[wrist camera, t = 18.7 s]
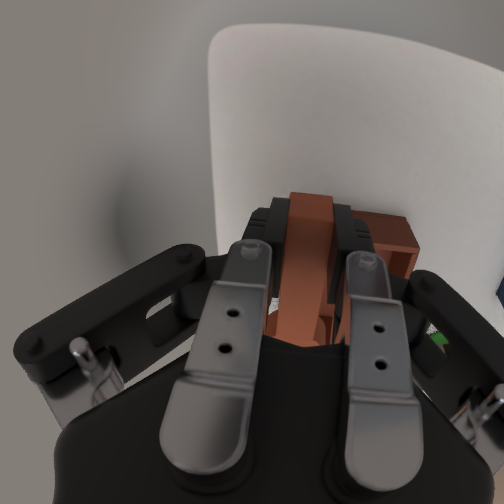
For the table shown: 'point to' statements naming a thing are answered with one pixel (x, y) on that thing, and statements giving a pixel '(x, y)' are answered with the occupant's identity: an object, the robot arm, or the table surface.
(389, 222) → the terracotta bin
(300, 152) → the table surface
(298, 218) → the terracotta spoon
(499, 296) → the blue bin
